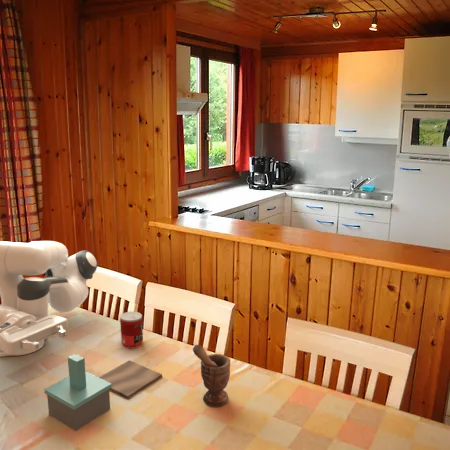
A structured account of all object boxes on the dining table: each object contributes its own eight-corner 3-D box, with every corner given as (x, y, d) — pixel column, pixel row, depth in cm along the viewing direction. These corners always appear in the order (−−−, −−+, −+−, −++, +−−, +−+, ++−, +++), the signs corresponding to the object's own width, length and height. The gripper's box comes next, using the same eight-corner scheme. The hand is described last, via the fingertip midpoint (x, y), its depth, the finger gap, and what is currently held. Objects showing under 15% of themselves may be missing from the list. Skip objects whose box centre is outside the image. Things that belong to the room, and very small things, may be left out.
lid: (44, 396, 136) (41, 360, 133) (82, 375, 146) (80, 342, 144) (74, 413, 129) (71, 375, 126) (111, 390, 139) (109, 355, 136)
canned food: (138, 349, 175) (137, 321, 172) (117, 347, 176) (116, 319, 174) (146, 339, 182) (145, 312, 179) (126, 337, 184) (124, 310, 181)
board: (94, 382, 154) (94, 379, 153) (129, 362, 166) (129, 360, 165) (127, 399, 145) (127, 396, 145) (162, 377, 157) (162, 374, 157)
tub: (48, 414, 138) (47, 392, 136) (83, 394, 147) (81, 374, 145) (76, 430, 131) (74, 408, 129) (110, 409, 140) (109, 387, 139)
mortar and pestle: (214, 417, 137) (214, 353, 132) (189, 408, 141) (188, 345, 136) (234, 397, 147) (235, 337, 142) (210, 388, 151) (211, 329, 146)
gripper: (52, 325, 158) (80, 336, 150) (-8, 350, 142) (20, 364, 134) (51, 307, 156) (79, 318, 149) (-10, 330, 140) (18, 343, 132)
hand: (51, 340), depth 141 cm, fingers open, 8 cm apart
